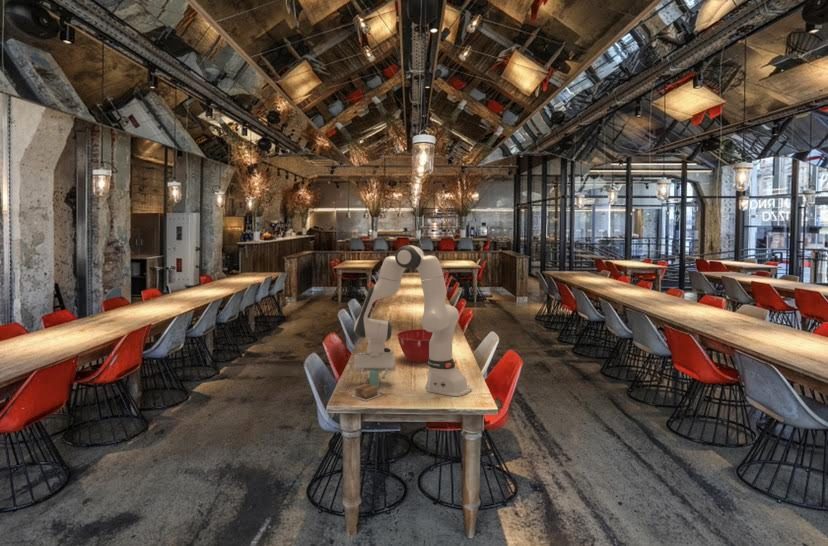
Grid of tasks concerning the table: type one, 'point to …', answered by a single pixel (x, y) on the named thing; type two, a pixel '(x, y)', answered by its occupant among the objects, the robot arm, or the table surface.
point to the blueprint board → (366, 399)
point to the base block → (366, 391)
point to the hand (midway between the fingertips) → (374, 378)
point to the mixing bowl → (415, 344)
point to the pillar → (374, 378)
